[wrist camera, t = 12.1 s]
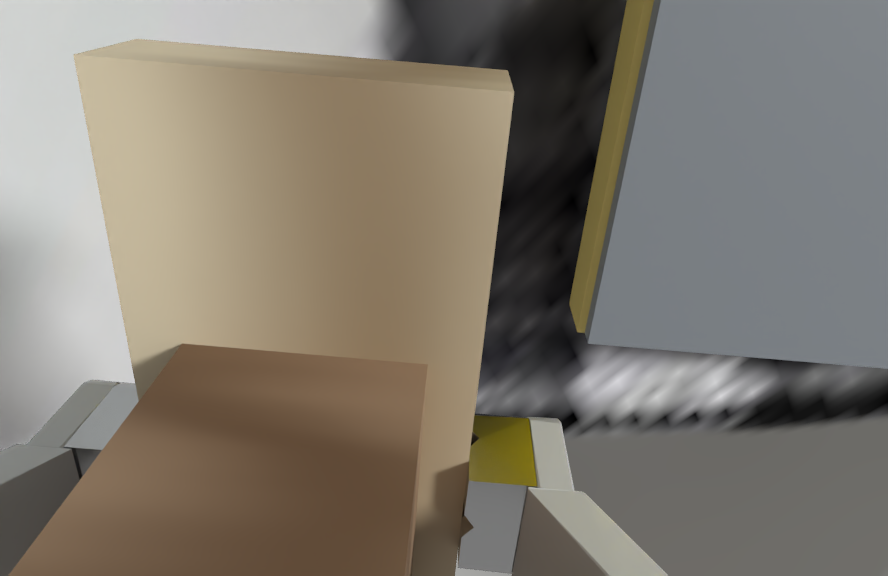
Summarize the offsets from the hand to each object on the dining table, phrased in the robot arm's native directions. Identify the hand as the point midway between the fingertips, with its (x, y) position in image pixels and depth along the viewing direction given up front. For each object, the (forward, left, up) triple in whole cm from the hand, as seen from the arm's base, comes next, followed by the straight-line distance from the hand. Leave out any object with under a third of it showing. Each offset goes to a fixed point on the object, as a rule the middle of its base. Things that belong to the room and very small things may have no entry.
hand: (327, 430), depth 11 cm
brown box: (0, 0, +1) cm, 1 cm away
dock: (+16, +1, -17) cm, 23 cm away
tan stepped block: (0, 0, -2) cm, 2 cm away
